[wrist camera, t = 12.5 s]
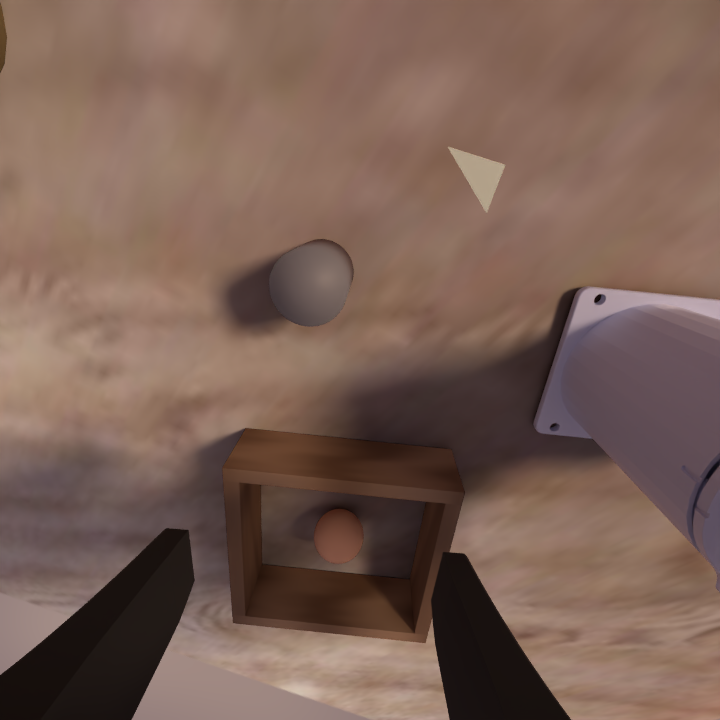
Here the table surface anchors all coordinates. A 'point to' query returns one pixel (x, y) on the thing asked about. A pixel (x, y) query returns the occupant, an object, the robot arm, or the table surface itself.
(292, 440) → the walnut crate
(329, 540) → the terracotta ball
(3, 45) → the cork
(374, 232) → the table surface
